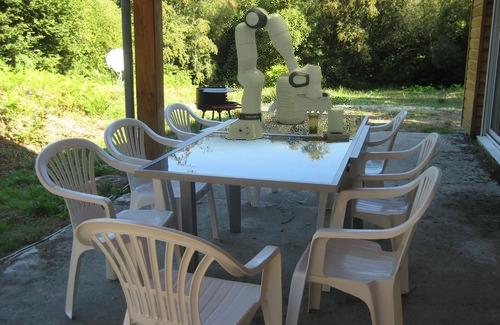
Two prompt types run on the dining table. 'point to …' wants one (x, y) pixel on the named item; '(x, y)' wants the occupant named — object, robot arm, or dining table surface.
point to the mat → (312, 138)
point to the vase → (287, 101)
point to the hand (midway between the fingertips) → (313, 118)
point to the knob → (313, 123)
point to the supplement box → (335, 119)
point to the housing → (336, 136)
